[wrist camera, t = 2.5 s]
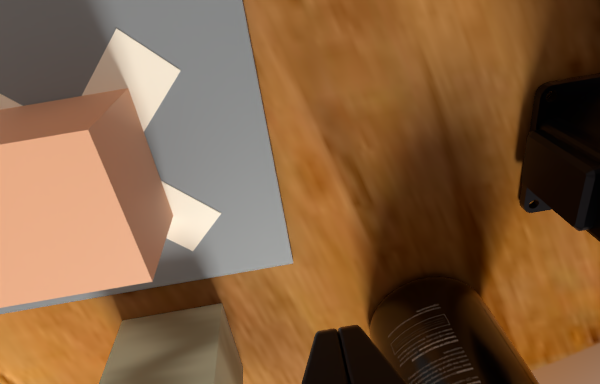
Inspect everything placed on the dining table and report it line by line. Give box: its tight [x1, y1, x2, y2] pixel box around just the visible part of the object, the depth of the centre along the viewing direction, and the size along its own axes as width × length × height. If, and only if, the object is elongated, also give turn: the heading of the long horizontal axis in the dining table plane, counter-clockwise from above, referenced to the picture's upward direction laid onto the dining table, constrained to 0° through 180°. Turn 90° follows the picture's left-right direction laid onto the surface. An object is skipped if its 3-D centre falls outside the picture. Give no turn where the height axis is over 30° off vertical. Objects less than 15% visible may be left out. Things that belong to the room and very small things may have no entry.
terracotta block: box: [0, 88, 173, 308], centre depth 16 cm, size 6×6×4 cm
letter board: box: [0, 0, 293, 314], centre depth 18 cm, size 16×14×1 cm
